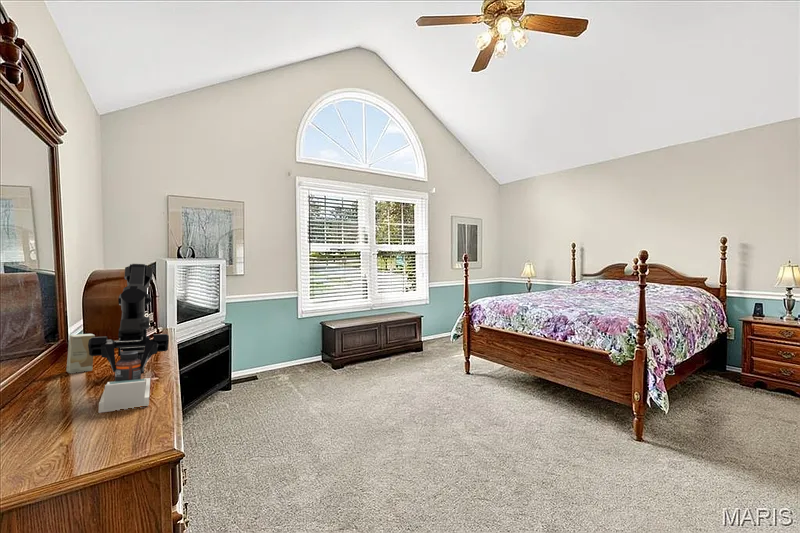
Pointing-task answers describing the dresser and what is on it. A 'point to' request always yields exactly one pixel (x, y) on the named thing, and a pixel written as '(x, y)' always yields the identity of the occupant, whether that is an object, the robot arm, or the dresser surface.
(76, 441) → the dresser surface
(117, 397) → the lane
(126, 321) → the robot arm
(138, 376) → the supplement bottle
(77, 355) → the skincare box
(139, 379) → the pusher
